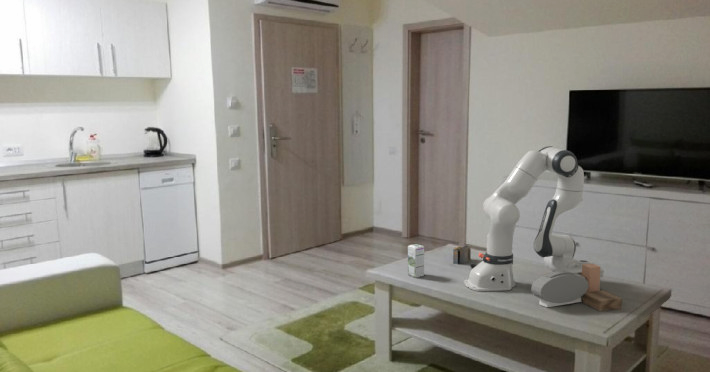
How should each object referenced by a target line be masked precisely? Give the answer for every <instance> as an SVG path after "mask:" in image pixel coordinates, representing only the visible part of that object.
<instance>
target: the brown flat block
mask: <svg viewBox="0 0 710 372" xmlns="http://www.w3.org/2000/svg"><path fill="white" fill-rule="evenodd" d="M453 248H454V249H453V254H452V258H453V260H452V264H453V265H459V264H462V263H465V262H468V261H471V259H472V258H471V251H472V249H471V248H472V246H471V245H463V246H461V245H459V246H457V247H453Z"/></svg>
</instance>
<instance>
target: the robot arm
mask: <svg viewBox="0 0 710 372" xmlns="http://www.w3.org/2000/svg"><path fill="white" fill-rule="evenodd" d="M546 171H548V172H550V173H553V174H556V178H557V184H556V189H555V193H554V195H553V197H552V198H551V200H549V201H548V202H547V204H546V205H545V206H546V207H545V209H544V213H543V216H542V219H541V222H540V225H539V229H538V232H537V234H536V237H535V238H534V241H533V250H534V251H535V254H537V255H538V256H539V257H541V258H543V264H544V265H545V267H546V268H547V269H548V270H549V271H551V272H555V271H567V272H571V273H574V275H577V276H581V277H583V278H585V279H586V280H587V277H585V276H582V264H590V263H591V262H590V261H589V260H579V259H575V258H574V256H575V254H576V252H577V244H576V241H575V240H574V238H573V237H572V236H571V235H569V234H552V233H553V229H554V227H555V223H556V220H557V219H558V217H559V216H560V215H562V214H563V213H565V212H568V211H570V210H573V209H574V208H576V207H578V205H580V203H581V201H582V199H583V194H584V188H585V187H584V184H585V174H584V169H583V168H582V167H581V166H580V165H578V159H577V156H576V155H575V154H574V153H573V152H572V151H570V150H566V149H564V148H561V147H557V146H550V145H549V146H544V147H542V148H540V150H534V149H532V150H528V151H527V152H526V153H525V154H524V155H523V156H522V157H521V158H520V160H518V162H517V163H516V165H515V166H514V168H513V169H512V170H511V172H510V173H509V175H508V176H507V177H506V179H505V181H504V182H503V183H501V185H500V186H499V187H498V188H497V189H496V190H495V191H494V192H493V193H492V194H491V195H490V196H488V197H487V198H485V200H484V201H483V204H482V209H483V212H484V213H485V215H486V217H487V218H489V219H490V222H491V223H490V227H489V231H488V233H487V235H486V252H485V254H484V253H482V252H479V253H478V257H479V258H481V259H482V261H481V262H479V263H478V264H476V265H475V266H474V267H473V268H471V270H470V272H469V275H468V278H467V279H464V280H463V284H464V286H466V287H467V288H468V287H469V288H468V289H470V290H473V291H475V292H492V291H494V292H498V291H500V292H501V291H511V290H512V289H513V287H515V286H516V282H515V279H514V272H513V264H514V253H513V243H514V242H513V241H514V234H515V229H516V225H517V223H518V222H519V221H520V217H521V215H520V214H521V212H520V210H519V208H518V207H517V203H518V202H520V201H521V200H522V199H523V198H526V197H527V196H528V194H529V193H530V191H531V190H532V189H533V187H534V186H535V185H536V183H537V181H539V179H540V176H541V175H542V174H543V173H544V172H546ZM604 274H605V270H604V268H602V267H601V266H600V278H603V277H604Z"/></svg>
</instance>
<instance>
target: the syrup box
mask: <svg viewBox="0 0 710 372" xmlns="http://www.w3.org/2000/svg"><path fill="white" fill-rule="evenodd" d="M407 275H408V276H411V277H412V276H413V278H415V279H416V277H417V278H421V277H424V276H425V246H424V245H420V244H416V243H415V244H413V243H412V244H409V245H407ZM420 276H421V277H420Z"/></svg>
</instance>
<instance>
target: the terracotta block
mask: <svg viewBox="0 0 710 372" xmlns="http://www.w3.org/2000/svg"><path fill="white" fill-rule="evenodd" d="M600 267H601V266H600V265H598V264H595V263H593V262H592V263H591V262H590V264H582V276H585V277H587V281H588V284H589V287H588V290H587V291H586V292H594V291H600V283H601V282H600V281H601V277H600Z"/></svg>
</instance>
